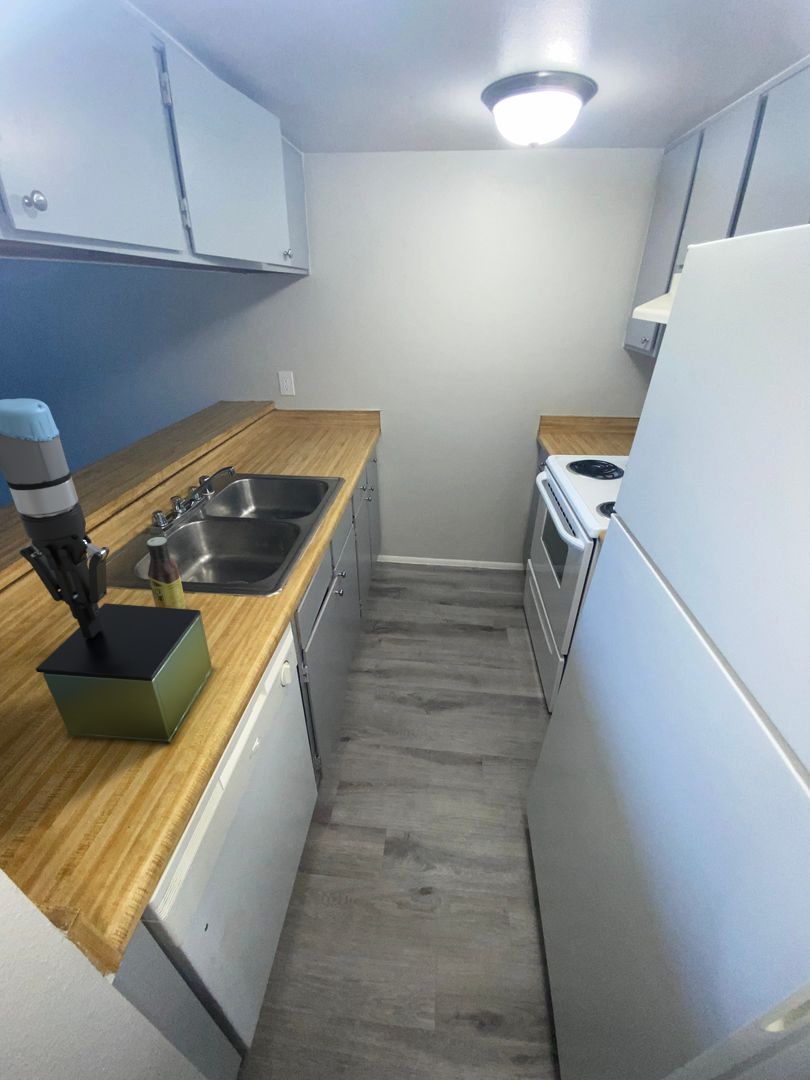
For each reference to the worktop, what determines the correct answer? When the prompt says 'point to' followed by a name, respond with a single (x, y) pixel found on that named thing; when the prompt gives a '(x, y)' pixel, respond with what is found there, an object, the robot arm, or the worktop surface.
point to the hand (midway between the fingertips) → (93, 632)
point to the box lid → (123, 643)
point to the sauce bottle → (164, 576)
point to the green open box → (135, 696)
